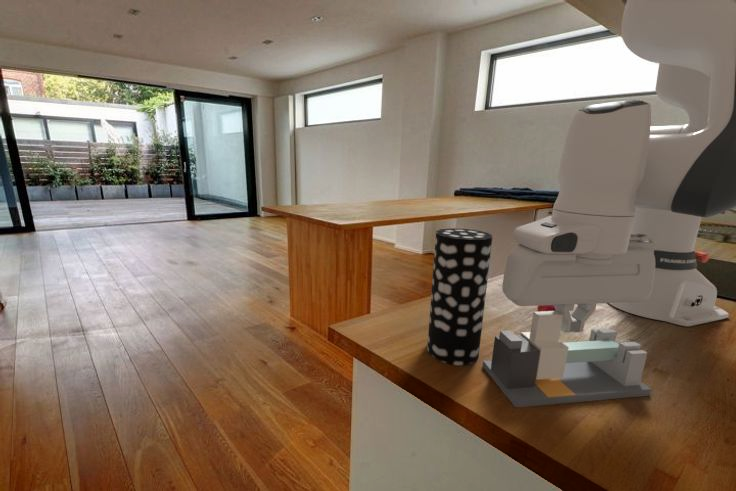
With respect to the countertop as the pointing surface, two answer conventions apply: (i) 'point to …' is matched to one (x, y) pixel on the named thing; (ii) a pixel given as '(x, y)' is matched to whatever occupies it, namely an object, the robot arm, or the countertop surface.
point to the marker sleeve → (548, 344)
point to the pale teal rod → (591, 351)
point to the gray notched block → (621, 359)
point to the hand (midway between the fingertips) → (569, 330)
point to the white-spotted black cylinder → (458, 294)
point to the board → (570, 387)
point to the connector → (514, 360)
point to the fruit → (546, 308)
